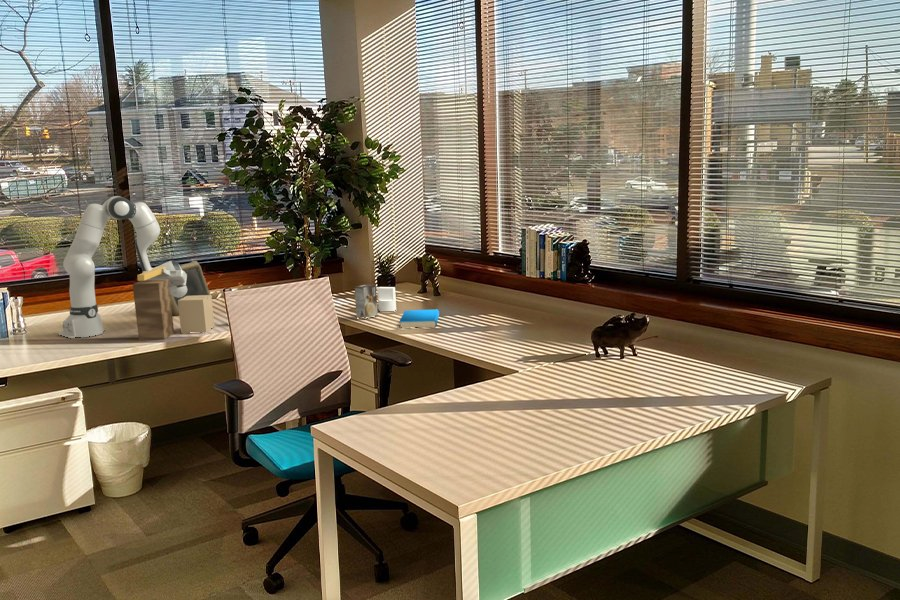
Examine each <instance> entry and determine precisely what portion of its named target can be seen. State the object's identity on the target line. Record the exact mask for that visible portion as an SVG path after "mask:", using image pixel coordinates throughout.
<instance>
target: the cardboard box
mask: <svg viewBox="0 0 900 600" xmlns="http://www.w3.org/2000/svg"><path fill="white" fill-rule="evenodd" d="M212 298H213V296H212V294H210V295H197V296H186V297H184V298H182V299H180V300H178V307H179V315H178V318H179V323H180V333H190V332H206V331H208V330H209V329H211V328H213V327H214V326H215V317H214V309H213V307H214V306H213V299H212ZM213 329H214V328H213Z"/></svg>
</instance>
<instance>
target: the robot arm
mask: <svg viewBox="0 0 900 600" xmlns="http://www.w3.org/2000/svg"><path fill="white" fill-rule="evenodd" d="M112 219H113V220H119V221H120V220H129V221H130V222H131V224H132V225H133V228H134V230H135V232H136V239H135V240H134V248H135V250H136V251H135V252H136V253H137V257H138V260H139V263H140V268H141V270H142V271H141V272H142V273H145V272H147V271H150V270H153V269H155V268H158V267H166V270H165V269H161V272H162V274H160V275H157V276H155V277H152V278H150V279H147V280H159V279H168V280H169V289H170V294H171V295H172V296H174V297H177V298H180V297H183V296H184V295H185V294H186V293H187V286H186V280H187V274H186V273H185V272H184V271H183V269H182V267H181V264H180V263H179V262H177V261H176V260H173V259H172V260H169V261H167V262H163V264H160V265H157V266H155V267H152V265H151V263H150V260H149V256H148V254H147V251H148V248H149V247H150V246H151V245H152V244H153V243H155V241H157V239H158V238H159V236H160V235H161V227H160V226H161V225H159V221H158V220H157V218H156V216H155V214H154V213H153V211H152V210H151V208H150V207H149V206H148V205H147V203H145V202H141V201H139V202H135V203H134V202H132V201H131V200H129V199H127V198H125V197H124V196H123V197H122V196H120V195H119V196H118V195H115V196H110V197H108V198H107V199H105V201H103V202H102V203H101V204H99V203H91V204H88V205H87V206H86V208H85V210H84V212H83V214H82V216H81V219H80V221H79V224H78V228H77V231H76V233H75V236H74V239H73V241H72V243H71V245H70V247H69V249H68V251H67V253H66V255H65V257H64V259H63V264H62V265H63V266H62V267H63V268H64V271H65V272H66V273H67V274H69V275H68V276H69V290H68V292H69V299H70V307H69V308H68V311H69V315H68V317H66V318H65V320H64V321H62V331H59V332H58V333H57V335H58V334H59V335H58V336H60V335H62V336H61V337H63V336H65V337H64V338H66V337H68V338H67V339H70V338H71V339H76V338H75V337H81V338H89V336H90V337H95V335H96V336H100V335H101V334H104V332H105V331H106V328H104V326H103V322H102V317H101V314H99V307H98V304H97V300H96V298H97V297H96V291H95V283H96V282H95V281H96V280H95V279H96V278H95V274H96V273H95V269H96V268H95V267H96V265H95V263H94V260H93V259H92V258H93V256H94V254H95V253H96V251H97V249H98V248H99V246H100V243H101V240H102V238H103V235H104V230H105V228H106V225H107V223H108V221H109V220H112ZM142 273H141V274H142ZM104 330H105V331H104ZM103 331H104V332H103Z"/></svg>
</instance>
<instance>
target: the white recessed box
mask: <svg viewBox="0 0 900 600" xmlns="http://www.w3.org/2000/svg"><path fill="white" fill-rule="evenodd" d="M396 294H397V293H396V286H378V287H377V305H378V312H379V311H394V312H396V311H397V298H396V297H397V296H396ZM395 310H396V311H395Z"/></svg>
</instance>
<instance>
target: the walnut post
mask: <svg viewBox="0 0 900 600" xmlns="http://www.w3.org/2000/svg"><path fill="white" fill-rule="evenodd" d="M132 290H133V300H134V307H135V317H136V318H135V319H136V324H137V325H136V326H137V335H138V340H139V341H152V340H156V341H157V340H166V339H167V338H169V337H170V335H171V336H173V335H174V334H175V329H174V319H173V316H172V308H171V299H170V289H169V280H168V279H159V280H144V281H138V282H137V281H136V282H134V283H133V284H132ZM173 333H174V334H173Z"/></svg>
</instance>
